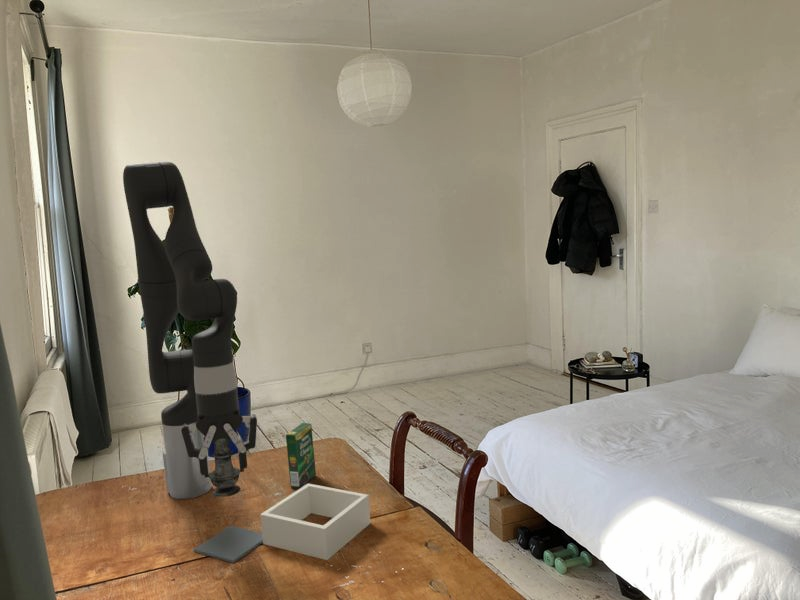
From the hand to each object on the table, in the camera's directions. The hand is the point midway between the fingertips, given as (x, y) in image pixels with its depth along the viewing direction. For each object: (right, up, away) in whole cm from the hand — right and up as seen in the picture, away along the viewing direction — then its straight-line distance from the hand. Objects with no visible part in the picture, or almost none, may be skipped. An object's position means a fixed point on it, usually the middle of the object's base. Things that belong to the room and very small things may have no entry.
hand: (224, 472), depth 122 cm
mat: (+1, -14, +2) cm, 14 cm away
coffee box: (+11, -10, +29) cm, 33 cm away
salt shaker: (0, -4, 0) cm, 4 cm away
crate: (+17, -13, +4) cm, 22 cm away
